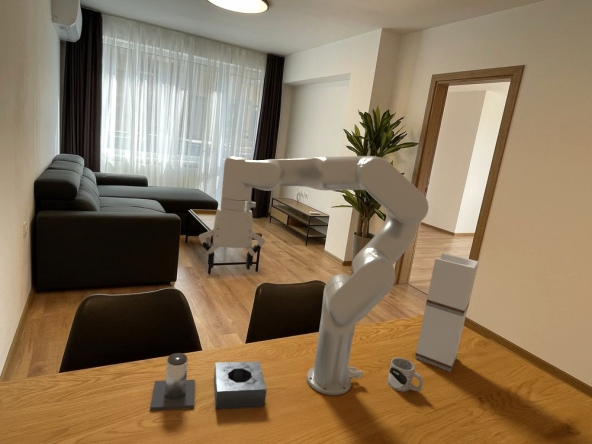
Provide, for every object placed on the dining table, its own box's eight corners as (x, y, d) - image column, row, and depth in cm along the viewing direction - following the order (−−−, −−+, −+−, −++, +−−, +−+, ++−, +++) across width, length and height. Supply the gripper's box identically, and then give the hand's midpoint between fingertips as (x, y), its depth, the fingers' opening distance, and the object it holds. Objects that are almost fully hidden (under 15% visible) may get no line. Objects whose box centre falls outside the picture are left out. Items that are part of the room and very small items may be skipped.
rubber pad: (194, 382, 101) (195, 379, 101) (194, 408, 91) (194, 405, 91) (154, 383, 98) (155, 381, 98) (149, 410, 89) (150, 407, 89)
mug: (383, 383, 111) (387, 362, 110) (394, 374, 116) (398, 355, 115) (415, 401, 105) (419, 379, 103) (425, 391, 110) (429, 371, 108)
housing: (257, 377, 106) (259, 361, 105) (264, 406, 95) (266, 389, 94) (213, 379, 103) (215, 362, 102) (215, 409, 92) (217, 391, 91)
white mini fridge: (456, 358, 130) (478, 261, 123) (450, 372, 121) (474, 268, 114) (422, 346, 136) (442, 252, 129) (414, 358, 127) (435, 258, 120)
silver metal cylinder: (186, 386, 98) (188, 352, 96) (185, 398, 93) (187, 363, 91) (165, 386, 96) (167, 352, 95) (163, 399, 92) (165, 364, 90)
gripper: (265, 205, 105) (259, 264, 108) (201, 199, 100) (196, 261, 104) (270, 210, 98) (263, 273, 101) (201, 204, 93) (196, 271, 97)
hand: (229, 267), depth 102 cm, fingers open, 9 cm apart
